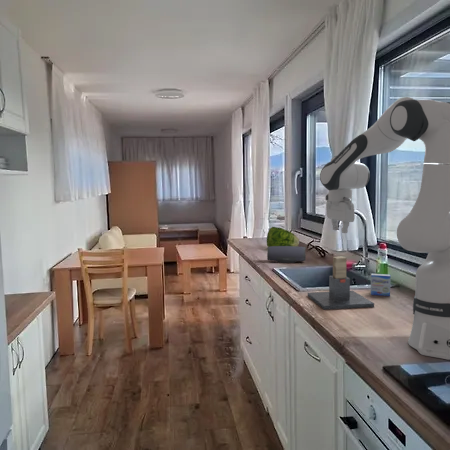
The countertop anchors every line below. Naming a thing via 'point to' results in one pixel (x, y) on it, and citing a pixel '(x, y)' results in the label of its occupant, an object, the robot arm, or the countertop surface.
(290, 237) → the lettuce
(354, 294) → the stand
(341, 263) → the post
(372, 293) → the medicine box
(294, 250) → the bluetooth speaker
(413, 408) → the countertop surface
